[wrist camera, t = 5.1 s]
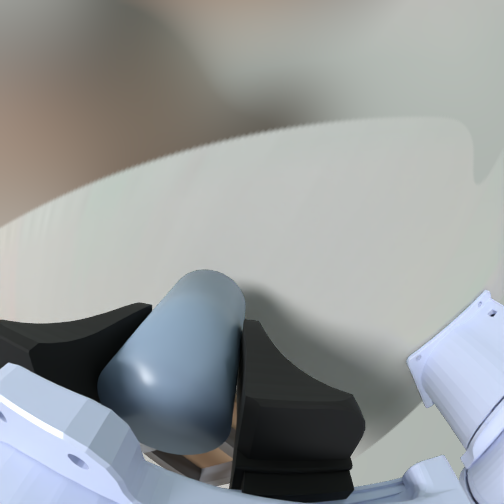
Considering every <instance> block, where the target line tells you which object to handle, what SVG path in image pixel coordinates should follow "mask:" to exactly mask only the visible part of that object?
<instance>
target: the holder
mask: <svg viewBox="0 0 504 504" xmlns="http://www.w3.org/2000/svg"><path fill="white" fill-rule="evenodd" d="M236 422H237V394H235V402H234V410H233V418H232V426H231V432H230V435H229V436H228V438H227V440H226V441H225V442H224V443H223V444H222V445H221V446H219V447H218V448H216V449H214V450H212V451H209V452H206V453H202V454H196V455H178V454H171V453H167V452H162V451H159V450H156V449H153V448H151V447H148V446H146V445H144V444H142V443H140V442H139V443H140V447H141V451H142V452H143V453H144V454H145V455H147V456H148V457H149V458H151V459H152V460H153V461H155V462H156V463H157V464H159V465H160V466H162V467H163V468H165V469H167V470H169V471H172V472H174V473H177V474H180V475H182V476H185V477H188V478H191V479H194V480H197V481H200V482H203V483H207V484H210V485H213V486H219V485H224V484H228V483H230V477H231V468H232V460H233V451H234V442H235V433H236Z"/></svg>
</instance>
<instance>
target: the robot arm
mask: <svg viewBox="0 0 504 504" xmlns="http://www.w3.org/2000/svg"><path fill="white" fill-rule="evenodd" d="M151 312H152V305H150V304H145V303H134V304H131V305H128V306H124V307H122V308H119V309H116V310H113V311H110V312H107V313H103V314H100V315H96V316H93V317H89V318H85V319H81V320H76V321H70V322H61V323H49V324H34V323H20V322H13V321H7V320H0V504H504V305H502V304H500V303H498V302H497V301H495V300H493V299H491V294H490V292H489V291H488V290H485V291H484V292H483V293H482V294H481V295H480V296H479V297H478V298H477V299H476V300H475V301H474V302H473V303H472V304H471V305H470V306H469V307H467V308H466V309H465V310H464V311H463V312H462V313H461V314H460V315H459V316H458V317H457V318H456V319H455V320H453V321H452V322H451V323H450V324H449V325H448V326H447V327H445V328H444V329H443V330H442V331H441V332H440V333H438V334H437V335H436V336H435V337H433V338H432V339H431V340H430V341H429V342H427V343H426V344H425V345H423V346H422V347H421V348H420V349H418V350H417V351H416V352H414V353H413V354H412V355H410V356H409V357H408V359H407V361H406V362H407V365H408V367H409V370H410V372H411V374H412V377H413V379H414V381H415V384H416V386H417V388H418V391H419V393H420V396H421V398H422V401H423V403H424V405H425V407H426V408H429V407H431V406H432V405H433V404H435V405H436V407H437V408H438V409H439V411H440V412H441V414H442V415H443V417H444V418H445V419H446V421H447V422H448V423H449V425H450V427H451V428H452V430H453V431H454V433H455V434H456V436H457V437H458V439H459V440H460V442H461V443H462V445H463V446H464V448H465V449H466V452H465V453H464V454H463V455H462V457H461V458H460V459H461V460H462V462H463V464H464V466H465V467H464V468H463V470H462V471H461V474H460V478H459V480H458V479H457V477H456V475H455V473H454V471H453V469H452V468H451V466H450V464H449V462H448V461H447V459H446V457H445V455H440V456H437V457H434V458H431V459H427V460H424V461H420V462H418V463H416V464H414V465H413V466H411V467H410V468H409V469H408V470H407V471H406V472H405V474H404V475H403V477H402V478H398V479H394V480H390V481H385V482H380V483H375V484H370V485H364V486H358V487H354V486H353V482H352V479H351V475H350V471H349V470H351V469H352V461H351V458H350V456H351V455H352V453H353V451H354V450H355V448H356V447H357V445H358V443H359V442H360V440H361V438H362V436H363V434H364V431H365V420H364V418H363V415H362V413H361V410H360V408H359V406H358V404H357V402H356V400H355V399H354V397H353V395H352V394H349V393H346V392H343V391H341V390H338V389H335V388H332V387H330V386H328V385H326V384H323V383H321V382H319V381H317V380H316V379H314V378H312V377H310V376H309V375H307V374H306V373H304V372H303V371H301V370H300V369H298V368H297V367H296V366H294V365H293V364H292V363H291V362H290V361H289V360H287V359H286V358H285V357H284V356H283V355H282V354H281V353H280V352H279V351H278V349H277V348H276V347H275V346H274V344H273V343H272V342H271V340H270V339H269V337H268V336H267V334H266V333H265V331H264V329H263V328H262V326H261V324H260V322H259V321H255V320H246V319H244V322H243V330H242V338H241V348H240V361H239V369H238V377H237V422H236V433H235V442H234V451H233V460H232V468H231V477H230V485H229V489H226V488H220V487H217V486H213V485H210V484H207V483H203V482H200V481H197V480H194V479H191V478H188V477H185V476H182V475H180V474H177V473H174V472H172V471H169V470H167V469H164V468H162V467H159V466H157V465H155V464H152V463H150V462H147V461H145V459H144V457H143V454H142V451H141V447H140V443H139V441H138V440H137V438H136V437H135V435H134V433H133V432H132V430H131V428H130V427H129V425H128V424H127V423H126V422H125V421H124V420H122V419H121V418H120V417H119V416H118V415H117V414H116V413H115V412H113V411H112V410H111V409H109V408H107V407H106V406H104V405H102V404H101V402H100V399H99V396H98V390H97V383H98V378H99V376H100V374H101V372H102V370H103V369H104V368H105V367H106V365H107V364H108V363H109V362H110V361H111V359H112V358H113V357H114V356H115V355H116V353H117V352H118V351H119V350H120V348H121V347H122V346H123V345H124V344H125V342H126V341H127V340H128V339H129V338H130V337H131V335H132V334H133V333H134V332H135V331H136V329H137V328H138V327H139V326H140V325H141V324H142V322H143V321H144V320H145V319H146V318H147V317H148V315H149V314H150V313H151ZM417 356H418V357H417ZM416 357H417V358H416Z"/></svg>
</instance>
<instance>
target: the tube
mask: <svg viewBox="0 0 504 504" xmlns="http://www.w3.org/2000/svg"><path fill="white" fill-rule="evenodd" d="M245 311H246V304H245V299H244V296H243V293H242V291H241V289H240V288H239V286H238V285H237V284H236V283H235V282H234V281H233V280H232V279H231V278H229V277H228V276H226V275H224V274H222V273H220V272H217V271H213V270H196V271H193V272H190V273H188V274H186V275H185V276H183V277H182V278H181V279H180V280H179V281H178V282H177V283H176V284H175V286H174V287H173V288H172V289H171V290H170V291H169V292H168V294H167V295H166V296H165V297H164V298H163V299H162V300H161V302H160V303H159V304H158V305H157V306H156V307H155V308H154V310H153V311H152V312H151V313H150V314H149V315H148V317H147V318H146V319H145V320H144V321H143V322H142V324H141V325H140V326H139V327H138V328H137V329H136V331H135V332H134V333H133V334H132V335H131V337H130V338H129V339H128V340H127V341H126V342H125V344H124V345H123V346H122V347H121V348H120V350H119V351H118V352H117V353H116V355H115V356H114V357H113V358H112V359H111V361H110V362H109V363H108V364H107V365H106V367H105V368H104V369H103V370H102V372H101V374H100V376H99V378H98V383H97V390H98V396H99V399H100V402H101V404H102V405H104V406H106V407H107V408H109V409H111V410H112V411H113V412H115V413H116V414H117V415H118V416H119V417H120V418H121V419H122V420H124V421H125V422H126V423H127V424H128V425H129V427H130V428H131V430H132V432H133V433H134V435H135V437H136V438H137V440H138V441H139V442H140V443H142V444H144V445H146V446H148V447H151V448H153V449H156V450H159V451H162V452H167V453H171V454H178V455H196V454H202V453H206V452H209V451H212V450H214V449H216V448H218V447H219V446H221V445H222V444H223V443H224V442H225V441H226V440H227V438H228V436H229V435H230V432H231V426H232V418H233V410H234V402H235V394H236V385H237V377H238V369H239V361H240V348H241V338H242V330H243V322H244V319H245Z"/></svg>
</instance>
